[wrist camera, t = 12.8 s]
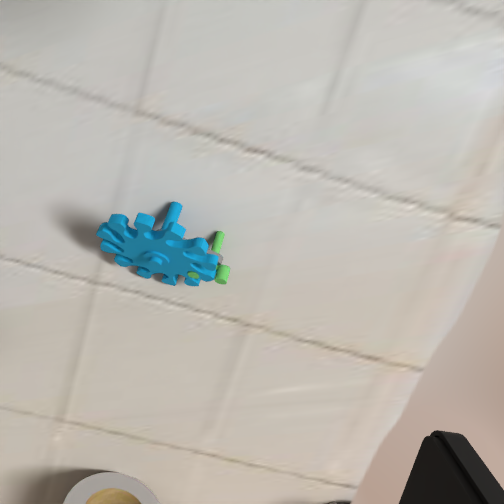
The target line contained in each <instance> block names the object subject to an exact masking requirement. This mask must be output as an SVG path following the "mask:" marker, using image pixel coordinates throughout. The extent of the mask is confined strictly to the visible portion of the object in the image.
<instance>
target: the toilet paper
mask: <svg viewBox="0 0 504 504" xmlns="http://www.w3.org/2000/svg"><path fill="white" fill-rule="evenodd" d="M63 504H160V503H159V501H158V499H157V497H156V496H155V495H154V493H153V492H152V491H151V490H150V489H149V488H148V487H147V486H146V485H145V484H143V483H142V482H141V481H139V480H137V479H135V478H133V477H130V476H127V475H124V474H121V473H115V472H104V473H98V474H94V475H91V476H89V477H86V478H85V479H83V480H81V481H80V482H78V483H77V484H76V485H75V486H74V487H73V488H72V489H71V490H70V492H69V493H68V495H67V496H66V498H65V500H64V503H63Z"/></svg>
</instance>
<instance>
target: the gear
mask: <svg viewBox="0 0 504 504" xmlns="http://www.w3.org/2000/svg"><path fill="white" fill-rule="evenodd" d="M181 210H182V205H181V204H180V203H178V202H172V203H171V205H170V208H169V210H168V213H167V215H166V218H165V220H164V223H163V226H162V228H161V229H160V230H157V231H154V230H152V227H153V225H154V222H155V218H154V217H152V216H150V215H147V214H143V213H138V215H137V217H136V220H135V222H134V226H135V227H136V228H137V230H135V229H132V228H130V227H129V226H128V225H127V224H128V221H129V219H128V218H127V217H126V216H125V215H122V214H112V215H111V217H110V219H109V221H108V223H107V222H105V223H102V224H101V225H100V227H99V229H98V231H97V233H96V235H97V236H99V237H100V238H103V241H102V243H101V245H100V247H101V250H102V251H105V252H108V253H116V256H115V258H114V260H115V262H116V263H117V264H119V265H120V266H122V267H127V266H132V265H134V266H139V267H138V270H137V272H136V273H137V274H138V275H140V276H142V277H144V278H147V279H148V278H150V277H151V275H152V274H155V273H163V274H164V275H163V278H162V282H164V283H166V284H169V285H173V286H175V285H176V282H177V279H178V275H182V276H184V277H186V278H185V281H184V283H185V284H186V285H189V286H199V283H200V280H201V279H202V280H203V281H206V282H207V281H212V280H214V278H215V282H217V283H219V284H226V283H227V279H228V276H229V272H230V268H229V267H228V266H226V265H221V263H222V260H223V257H222V256H221V255H220V254H219V252H220V248H221V245H222V241H223V238H224V235H225V234H224V233H223V232H221V231H217V233H216V236H215V239H214V242H213V246H212V249H211V250H210V249H208V247H209V245H208V243H207V242H206V240H205V239H204V238H194V239H189V240H187V239H185V238H183V236H184V233H185V231H186V229H185V228H184V227H182V226H181V225H179V224H178V223H177V220H178V218H179V215H180V212H181ZM216 272H217V273H216ZM215 275H216V276H215Z"/></svg>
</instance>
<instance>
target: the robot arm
mask: <svg viewBox="0 0 504 504" xmlns="http://www.w3.org/2000/svg"><path fill="white" fill-rule="evenodd" d="M399 504H504V490H503V489H502V487H501V486H500V484H499V483H498V482H497V480H496V479H495V477H494V476H493V475H492V474H491V472H490V471H489V469H488V468H487V466H486V465H485V464H484V462H483V461H482V460H481V458H480V457H479V455H478V454H477V453H476V451H475V450H474V449H473V447H472V446H471V445H470V443H469V442H468V440H467V439H466V438H465V437H464V436H463V435H461V434H458V433H452V432H445V431H438V430H437V431H434V432H432V433H431V435H430V436H426V437H425V438H424V440H423V442H422V444H421V447H420V450H419V452H418V455H417V457H416V460H415V463H414V465H413V468H412V470H411V473H410V476H409V478H408V481H407V484H406V486H405V489H404V492H403V494H402V497H401V500H400V502H399Z"/></svg>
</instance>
